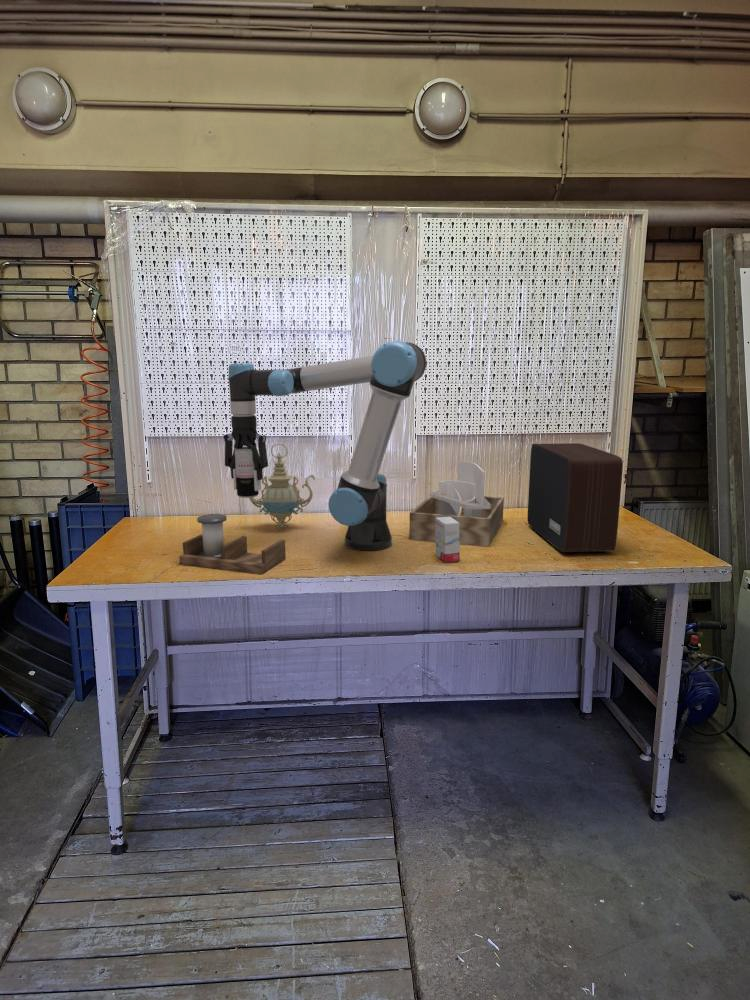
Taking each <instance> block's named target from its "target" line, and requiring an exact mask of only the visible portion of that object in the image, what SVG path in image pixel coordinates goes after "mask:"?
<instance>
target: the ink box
mask: <svg viewBox="0 0 750 1000" xmlns="http://www.w3.org/2000/svg"><path fill="white" fill-rule="evenodd" d="M459 524H460V523H459V522H457V521H456V520H454V519H453V518H452V517H437V518H436V542H435V556H436V557H437V558H439V559H440V560H442V562H444V563H454V562H459V561H461V557H460V544H459Z"/></svg>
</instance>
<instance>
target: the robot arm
mask: <svg viewBox="0 0 750 1000" xmlns="http://www.w3.org/2000/svg"><path fill="white" fill-rule="evenodd" d="M426 370H427V358H426V355H425V352H424V350H423V349H422V348H421V347H419V346H418V345H417V344H415V343H413V342H408V341H407V342H405V341H400V340H391V341H388V342H386V343H384V344H382V345H380V346H379V347H378V348H377V349H376V351H375V352H374V354H373V355H369V356H363V357H358V358H350V359H345V360H338V361H333V362H327V363H318V364H314V365H308V366H302V367H294V368H288V369H277V368H276V369H255V367H254V364H253V363H251V362H250V363H247V362H246V363H244V362H243V363H230V364H229V365H228V378H227V379H228V384H229V385H228V386H229V387H228V388H229V400H230V401H229V403H230V404H229V406H230V407H229V408H230V414H231V415H232V416H231V417H230V424H231V428H232V431H231V433H227V434H224V435H223V440H224V466H225V467H229V468H230V475H231V479H233V489H234V491H237V483H236V466H235V450H236V449H240V448H242V447H247V448H248V449H252V455H253V462H254V465H255V468H256V469H255V470H254V487H255V491H262V479H263V478H264V477H263V476H264V475H263V473H264V472H263V471H264V470H263V469H265V468H268V467H269V461H268V454H267V446H266V443H267V442H266V441H267V436H266V434H263V435H262V434H259V433H258V431H257V426H258V425H257V424H258V423H257V416H256V415H255V414H257V407H256V396H267V397H268V396H269V397H270V396H271V397H273V396H274V397H275V396H276V397H283V396H284V397H285V396H289V395H291V394H292V395H293V394H300V393H303V392H310V391H316V390H326V389H331V388H338V387H345V386H352V385H359V384H366V383H367V384H368V383H369V385H370V386H369V387H370V388H371V390H372V392H371V393H372V394H371V396H370V400H369V403H368V405H367V409H366V412H365V415H364V419H363V421H362V426H361V428H360V431H359V434H358V438H357V441H356V445H355V448H354V451H353V453H352V457H351V461H350V464H349V467H348V469H347V470H346V471H344V472H342V473H341V475H340V478H339V482H338V485H337V488H336V489H334V491H333V492H332V493H331V495H330V496H329V498H328V499H329V500H328V511H329V513H330V514H331V516H332V518H333V519H334V520H335V521H336V522H337V523H339V524H341V525H343V526H346V527H347V529H346V533H345V535H344V546H345V547H346V548H348V549H351V550H355V551H356V550H357V551H370V552H371V551H381V550H385V549H388V548H390V547H391V546H392V545H393V544H392V543H393V538H392V534H391V531H390V527H389V524H388V522H387V488H388V484H387V476H385V475H384V474H382V473H380V470H381V466H382V464H383V461H384V457H385V455H386V452H387V448H388V445H389V441H390V439H391V436H392V433H393V430H394V427H395V424H396V421H397V417H398V414H399V412H400V408H401V405H402V402H403V401H404V400H406V399H408V398H410V395H411V393H412V389H413V386H414V383H415V382H417V381H418V380H419V379H421V378H422V377H423V375H424V374H425V371H426ZM233 440H234V443H233ZM256 441H257V442H256ZM235 448H236V449H235ZM257 448H258V449H257Z"/></svg>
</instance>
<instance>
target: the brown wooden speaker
mask: <svg viewBox="0 0 750 1000" xmlns="http://www.w3.org/2000/svg"><path fill="white" fill-rule="evenodd" d="M529 459H530V460H529V461H530V463H529V475H528V476H529V479H528V497H527V524H528V526H530V527H531V528H532V529H533V530H534V531H535V532H536V533H537V534H538V535H540V536H541V537H542V538H543V539H545V540H546V541H547V542H548V543H550V544H551V545H552V546H553V547H554V548H556V549H557V550H558V551H560V552H562V553H575V552H576V553H578V552H582V553H584V552H588V553H589V552H615V549H616V546H617V539H618V527H619V519H620V518H619V516H620V515H619V514H620V506H621V505H620V504H621V493H622V492H621V491H622V483H623V482H622V480H623V479H622V478H623V470H624V469H623V467H624V466H623V465H624V461H623V458H621V457H620V456H619V455H617V454H613V453H611V452H608V451H605V450H602V449H599V448H596V447H592V446H589V445H587V444H584V443H574V442H573V443H571V442H570V443H569V442H568V443H565V442H564V443H532V445H531V448H530V458H529Z"/></svg>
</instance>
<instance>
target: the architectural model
mask: <svg viewBox="0 0 750 1000" xmlns="http://www.w3.org/2000/svg"><path fill="white" fill-rule="evenodd" d="M485 473H486V472H485V470H483V468H481V466H479V465H478V464H477V463H475V462H470V461H468V460H467V461H466V460H461V459H458V475H457V477H458V478H457V479H458V480H442V481H438V490H437V491H431V492H429V496H430V497H433V498H436V499H438V514H440V515H453V516H465V517H478V518H481V512H482V509H491V504H490V503H489V502H488V501H487V500H486V499H485V497H484V495H485Z"/></svg>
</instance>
